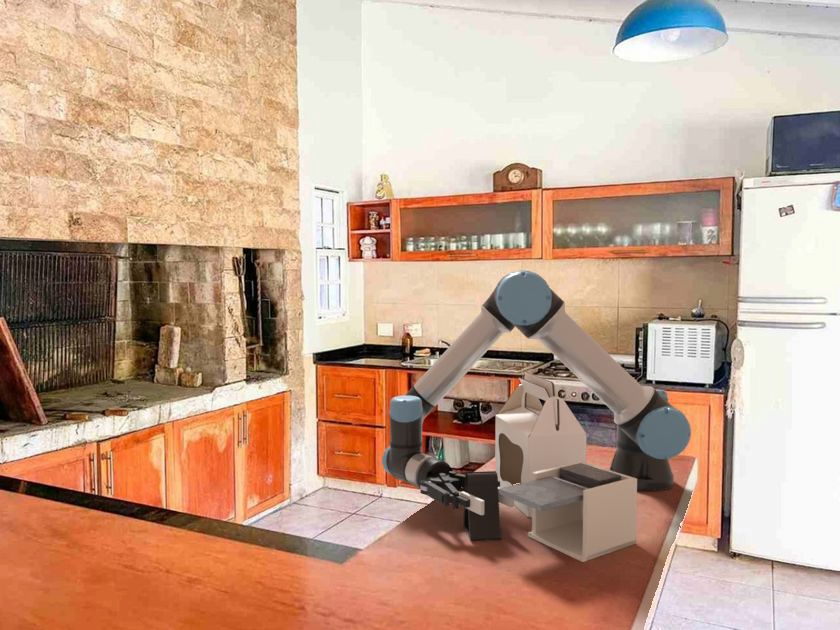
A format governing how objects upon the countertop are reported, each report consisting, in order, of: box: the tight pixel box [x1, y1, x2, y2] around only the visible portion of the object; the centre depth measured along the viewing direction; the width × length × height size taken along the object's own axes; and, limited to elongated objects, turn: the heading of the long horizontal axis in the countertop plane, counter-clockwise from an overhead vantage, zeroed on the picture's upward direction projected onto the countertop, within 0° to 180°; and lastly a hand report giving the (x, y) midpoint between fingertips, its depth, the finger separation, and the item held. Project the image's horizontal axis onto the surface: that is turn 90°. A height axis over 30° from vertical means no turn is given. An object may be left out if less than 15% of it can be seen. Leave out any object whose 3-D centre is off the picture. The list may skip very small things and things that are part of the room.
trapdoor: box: [499, 463, 621, 511], centre depth 122 cm, size 21×11×4 cm, turn 124°
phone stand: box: [462, 470, 502, 542], centre depth 130 cm, size 9×6×12 cm, turn 6°
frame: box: [527, 462, 638, 563], centre depth 126 cm, size 14×14×12 cm
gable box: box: [494, 372, 588, 519], centre depth 149 cm, size 22×13×28 cm, turn 12°
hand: (497, 504), depth 126 cm, fingers open, 7 cm apart
